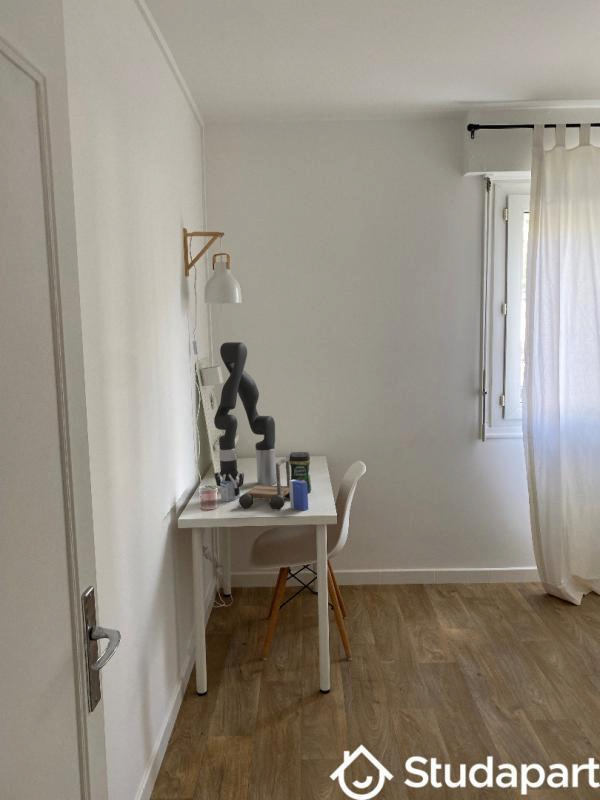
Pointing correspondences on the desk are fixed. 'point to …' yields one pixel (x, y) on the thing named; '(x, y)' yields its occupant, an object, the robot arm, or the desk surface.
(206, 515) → the desk surface
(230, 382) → the robot arm
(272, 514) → the desk surface
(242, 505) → the trolley
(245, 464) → the desk surface
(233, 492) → the medicine box
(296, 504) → the walkman
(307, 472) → the coffee jar
